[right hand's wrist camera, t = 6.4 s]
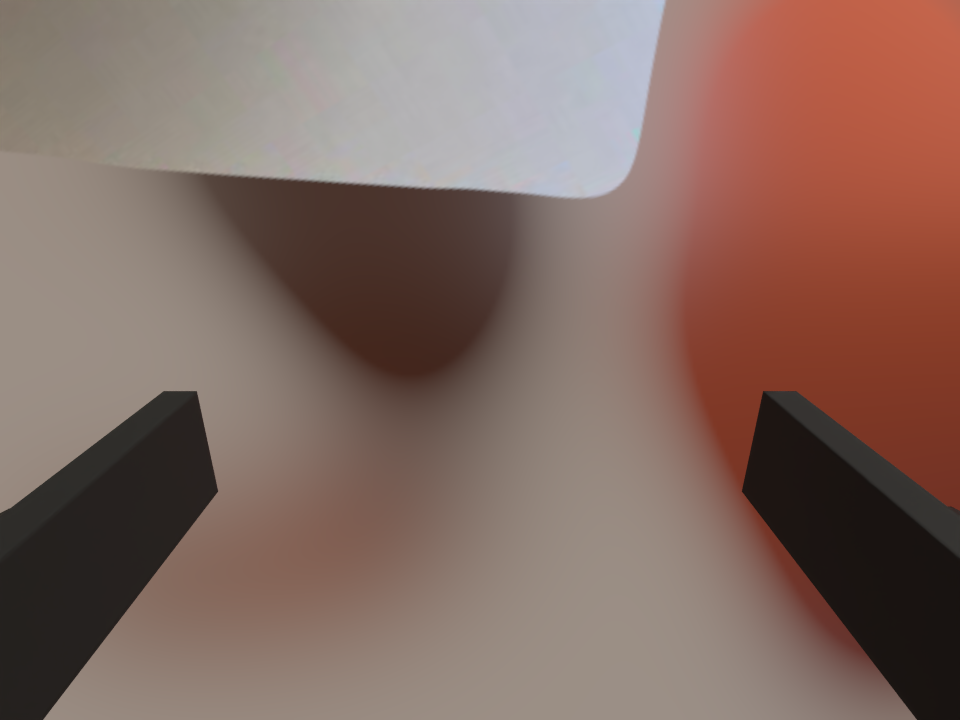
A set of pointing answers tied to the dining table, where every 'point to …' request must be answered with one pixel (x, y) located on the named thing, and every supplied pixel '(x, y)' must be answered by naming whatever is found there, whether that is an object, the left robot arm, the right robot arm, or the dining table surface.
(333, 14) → the dining table surface
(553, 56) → the dining table surface
